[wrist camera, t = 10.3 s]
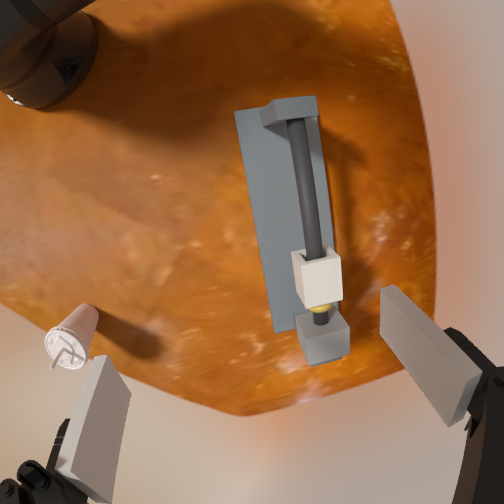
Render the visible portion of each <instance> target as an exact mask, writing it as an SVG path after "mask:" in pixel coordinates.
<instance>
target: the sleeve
mask: <svg viewBox="0 0 504 504" xmlns="http://www.w3.org/2000/svg"><path fill="white" fill-rule="evenodd" d="M322 247H323V256H324V258H320V259H315V260H311V261H307V257H306V249H301V250H297V251H292V252H291V255H292V262H293V269H294V276H295V284H296V291H297V293H298V295H299V297H300V299H301V301H302V302H303V304H304V306H305V308H306V309H308V308H312V307H316V306H320V305H324V304H328V303H332V302H336V301H340V300H343V289H342V272H341V258H340V256H339V255H338V254H337V253H336V252H335V251H334V250H333V249H332V248H331V247H329V246H328V245H327V244H325V245H322Z"/></svg>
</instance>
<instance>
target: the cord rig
mask: <svg viewBox="0 0 504 504" xmlns="http://www.w3.org/2000/svg"><path fill="white" fill-rule="evenodd" d="M317 116H319V112H318V106H317V101H316V95H312V96H301V97H292V98H283V99H275V100H273V101H271V102H270V103H269V104H268V105H266V106H265V107H258V108H252V109H245V110H240V111H234V117H235V122H236V128H237V133H238V138H239V143H240V149H241V154H242V159H243V165H244V170H245V175H246V181H247V186H248V191H249V197H250V202H251V207H252V213H253V218H254V224H255V229H256V235H257V240H258V245H259V251H260V256H261V262H262V267H263V273H264V278H265V284H266V289H267V295H268V301H269V306H270V312H271V317H272V323H273V329H274V333H279V332H284V331H288V330H292V329H296V332H297V336H298V342H299V344H300V346H301V349H302V351H303V354H304V356H305V358H306V361H307V363H308V365H311V367H314V366H317V365H321V364H325V363H328V362H332V361H335V360H339V359H342V356H345V355H348V354H350V327H349V325H348V324H347V323H346V321H345V320H344V318H343V317H342V315H341V314H340V313H339V311H338V301H336V302H332V303H328V304H324V305H320V306H316V307H312V308H308V309H306V308H305V306H304V304H303V302H302V301H301V299H300V297H299V295H298V293H297V291H296V284H295V276H294V269H293V262H292V255H291V252H292V251H297V250H301V249H306V257H307V261H311V260H315V259H320V258H324V256H323V247H322V245H325V244H327V245H328V246H329V247H331V248H332V249H333V250H334V242H333V232H332V222H331V213H330V204H329V196H328V188H327V180H326V173H325V166H324V159H323V152H322V145H321V139H320V133H319V127H318V121H317Z"/></svg>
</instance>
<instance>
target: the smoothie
mask: <svg viewBox="0 0 504 504" xmlns="http://www.w3.org/2000/svg"><path fill="white" fill-rule="evenodd" d="M98 320H99V314H98V311H97V310H96V309H95V308H94V307H93V306H92V305H90V304H81V305H80V306H79V307H78V308H77V309H75V310H74V311H73V312H72V313H71V314H70V315H69V316H68V317H67V318H66V319H65V320H63V321H62V322H61V323H60V324H59V325H58V326H57V327H54V328H52V329H51V330H50V331H49V332H48V334H47V335H46V337H45V347H46V350H47V352H48V354H49V356H50V357H51V358H52V359H53V361H52V363H51V365H50V366H49V369H50V370H53V368H54V367H55V365H56V364H59V365H60V366H62V367H64V368H67V369H70V370H78V369H81V368H82V367H84V365H85V364H86V362H87V361H88V358H89V348H90V344H91V341H92V338H93V335H94V332H95V329H96V326H97V323H98Z"/></svg>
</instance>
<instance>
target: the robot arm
mask: <svg viewBox="0 0 504 504" xmlns="http://www.w3.org/2000/svg"><path fill="white" fill-rule="evenodd" d="M95 1H96V0H0V90H1V91H2V92H3V93H5V94H7V96H8V97H9V98H10V99H11V100H12V101H13V102H14V103H16V104H18V105H20V106H23V107H29V108H45V107H48V106H51V105H54V104H56V103H58V102H59V101H61V100H63V99H64V98H66V97H67V96H68V95H69V94H70V93H72V92H73V91H74V90H75V89H76V88H77V86H78V85H79V84H80V83H81V82H82V80H83V79H84V78H85V76H86V74H87V73H88V71H89V69H90V67H91V65H92V63H93V60H94V57H95V54H96V50H97V41H98V39H97V31H96V28H95V25H94V23H93V22H92V20H91V19H90V18H89V17H88V16H87V15H86V14H85V13H84V12H83V11H81V9H83V8H84V7H86V6H88V5H89V4H91V3H93V2H95ZM380 335H381V337H382V338H383V339H384V341H385V342H386V343H387V345H388V346H389V347H390V349H391V350H392V351H393V352H394V354H395V355H396V356H397V358H398V359H399V360H400V362H401V363H402V364H403V366H404V367H405V368H406V370H407V371H408V372H409V374H410V375H411V376H412V378H413V379H414V381H415V382H416V383H417V384H418V386H419V387H420V389H421V390H422V392H423V393H424V394H425V396H426V397H427V398H428V400H429V401H430V403H431V404H432V406H433V407H434V408H435V410H436V411H437V413H438V414H439V415H440V417H441V418H442V420H443V421H444V423H445V424H446V426H447V427H450V426H452V425H453V424H455V423H457V422H458V421H460V420H462V419H463V417H464V415H465V413H466V411H467V410H468V412H469V413H470V414H471V417H470V419H469V421H468V423H467V425H466V427H465V431H466V430H467V429H468V434H467V440H466V446H465V451H464V457H463V462H462V466H461V470H460V475H459V479H458V483H457V487H456V490H455V494H454V498H453V501H452V504H504V367H496V366H495V365H494V364H493V363H492V362H491V361H490V360H489V359H488V358H487V357H486V356H485V355H484V354H483V353H482V352H481V351H480V350H479V349H478V348H477V347H476V346H474V344H473V343H472V342H470V341H468V338H467V337H465V336H464V335H463V334H462V333H461V332H460V331H458V330H456V329H453V328H451V327H450V328H447V329H445V330H441V328H440V327H438V326H437V325H436V324H435V323H434V322H433V321H432V320H431V319H430V318H429V317H428V316H427V315H426V314H425V313H424V312H423V311H422V310H421V309H420V308H419V307H418V306H417V305H416V304H415V303H414V302H413V301H411V300H410V299H409V298H408V297H407V296H406V295H405V294H404V293H403V292H402V291H401V290H400V289H399V288H397V287H396V286H395V285H394V284H393V285H390V286H387V287H384V288H381V289H380ZM130 397H131V392H130V391H129V389H128V388H127V386H126V385H125V383H124V382H123V380H122V378H121V377H120V375H119V373H118V372H117V370H116V368H115V367H114V365H113V363H112V362H111V360H110V358H109V356H108V355H102V356H95V357H94V359H93V362H92V364H91V367H90V369H89V371H88V374H87V376H86V379H85V381H84V384H83V387H82V389H81V392H80V394H79V397H78V400H77V402H76V405H75V408H74V411H73V413H72V416H71V419H65V421H64V422H63V423H62V425H61V426H60V427H59V430H58V433H57V438H56V439H55V442H54V446H53V448H52V451H51V454H50V457H49V460H48V463H47V466H46V469H44V468H43V467H42V466H41V465H40V464H39V463H38V462H36V461H34V460H28V461H26V462H24V463H23V464H22V465H21V466H20V467H19V469H18V472H17V480H18V481H19V482H21V483H22V484H21V485H19V484H18V483H17V482H16V481H15V480H13V479H10V478H9V479H5V480H3V481H2V482H1V483H0V504H88V503H87V499H88V497H90V498H91V499H92V500H94V501H95V502H99V503H108V504H111V503H112V497H113V489H114V483H115V476H116V470H117V464H118V458H119V452H120V446H121V441H122V436H123V430H124V426H125V421H126V416H127V411H128V406H129V402H130Z"/></svg>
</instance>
